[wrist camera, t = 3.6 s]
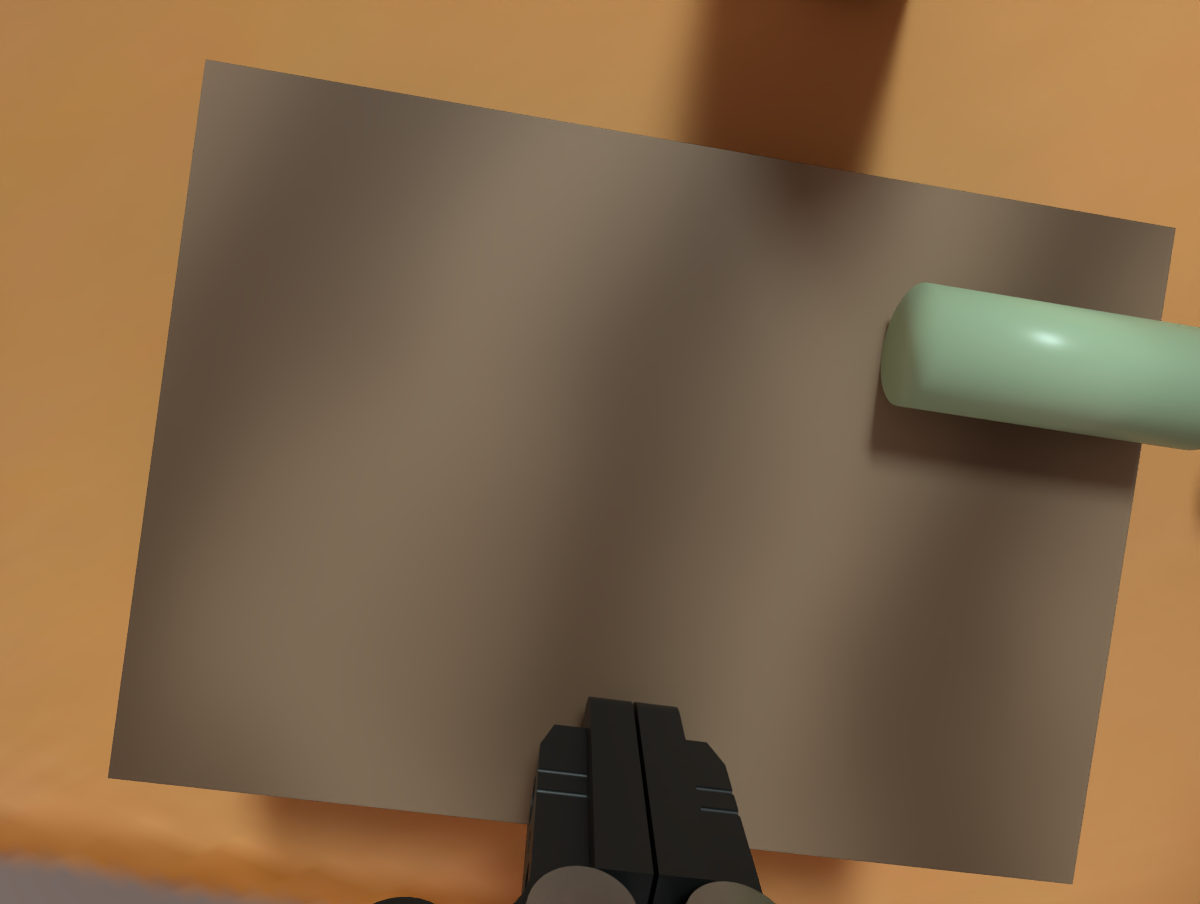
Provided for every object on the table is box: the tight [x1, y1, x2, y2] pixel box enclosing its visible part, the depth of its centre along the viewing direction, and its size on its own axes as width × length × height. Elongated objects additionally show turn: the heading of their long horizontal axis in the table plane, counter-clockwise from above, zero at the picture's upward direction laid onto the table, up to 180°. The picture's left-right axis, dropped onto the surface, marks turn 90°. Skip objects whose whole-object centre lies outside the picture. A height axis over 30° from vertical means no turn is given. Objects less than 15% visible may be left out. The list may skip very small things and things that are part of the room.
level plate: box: [108, 60, 1200, 884], centre depth 12 cm, size 17×12×4 cm
